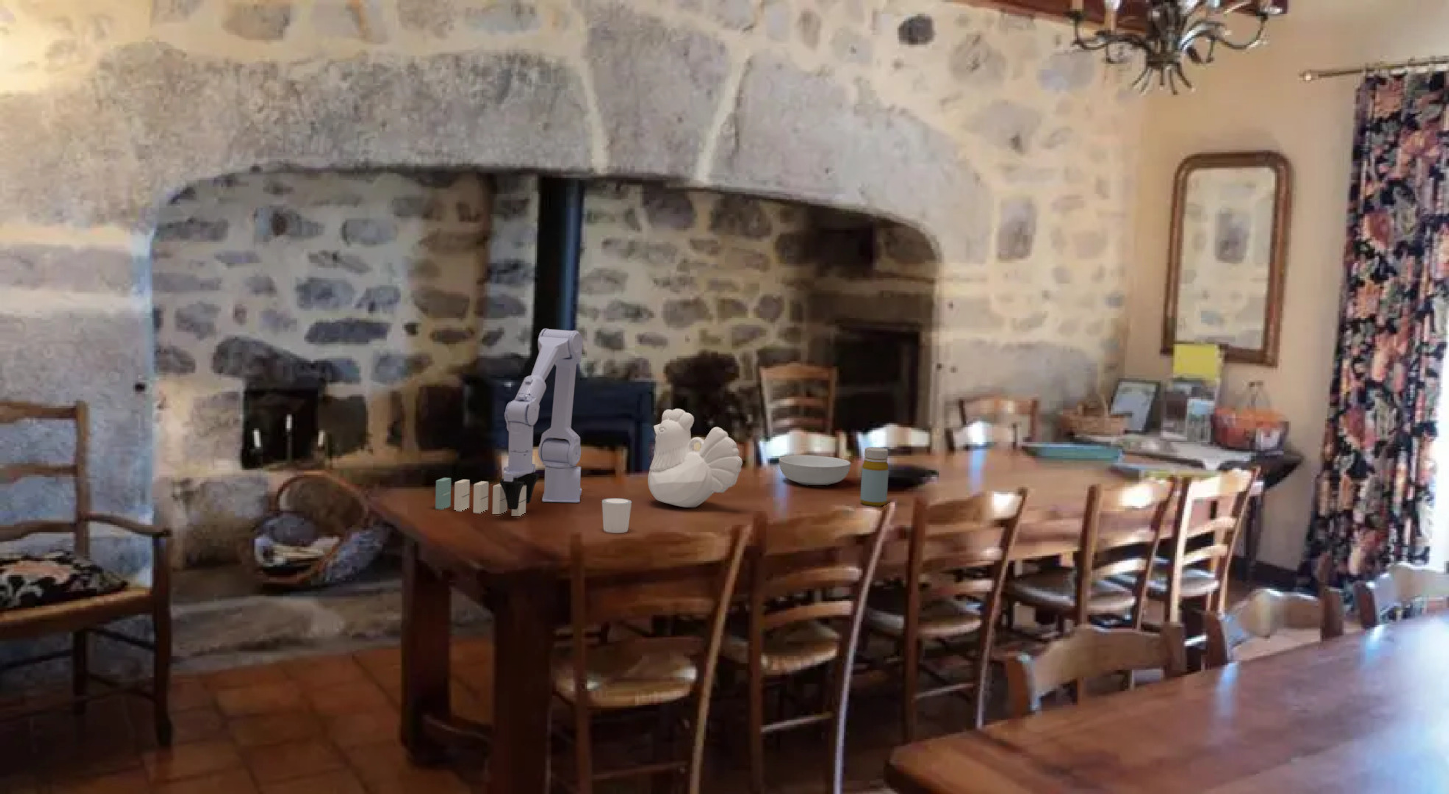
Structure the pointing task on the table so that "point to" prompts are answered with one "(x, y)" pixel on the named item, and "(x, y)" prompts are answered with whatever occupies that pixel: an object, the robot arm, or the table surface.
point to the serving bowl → (814, 469)
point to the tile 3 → (480, 497)
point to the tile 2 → (461, 495)
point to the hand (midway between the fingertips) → (519, 506)
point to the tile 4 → (499, 500)
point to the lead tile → (521, 503)
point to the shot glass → (616, 514)
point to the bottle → (874, 477)
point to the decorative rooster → (690, 462)
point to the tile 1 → (443, 493)
